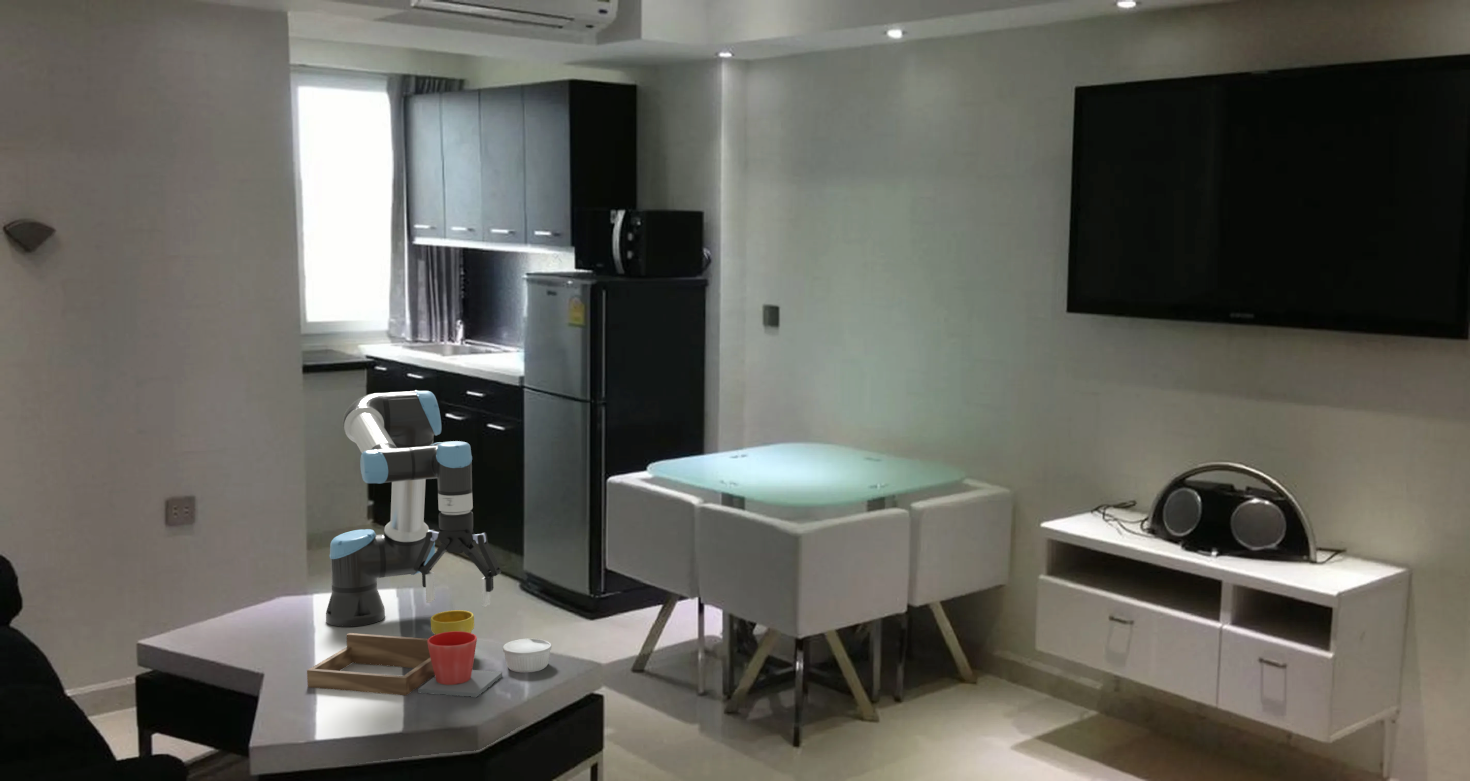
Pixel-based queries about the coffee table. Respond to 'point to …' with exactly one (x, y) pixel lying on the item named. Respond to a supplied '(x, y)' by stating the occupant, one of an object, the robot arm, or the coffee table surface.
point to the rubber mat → (463, 684)
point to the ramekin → (527, 654)
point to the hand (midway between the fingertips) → (458, 603)
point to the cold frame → (375, 653)
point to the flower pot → (452, 656)
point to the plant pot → (452, 621)
